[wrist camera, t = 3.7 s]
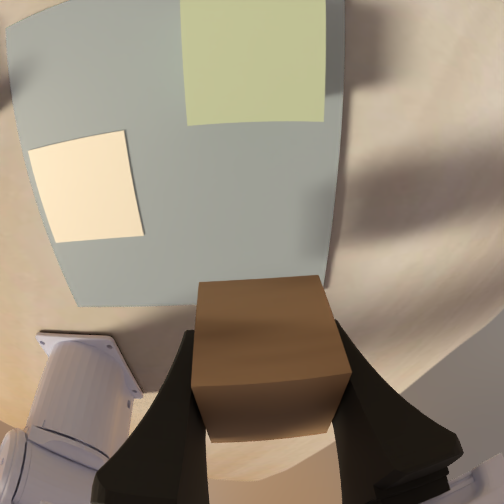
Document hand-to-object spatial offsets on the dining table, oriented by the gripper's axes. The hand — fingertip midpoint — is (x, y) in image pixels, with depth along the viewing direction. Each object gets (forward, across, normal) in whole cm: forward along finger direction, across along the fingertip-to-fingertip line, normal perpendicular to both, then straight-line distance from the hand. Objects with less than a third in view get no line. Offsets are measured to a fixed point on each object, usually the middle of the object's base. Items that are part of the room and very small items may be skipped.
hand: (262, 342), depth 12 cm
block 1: (+7, 0, -10) cm, 12 cm away
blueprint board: (+8, +4, -5) cm, 10 cm away
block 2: (+1, 0, 0) cm, 1 cm away
